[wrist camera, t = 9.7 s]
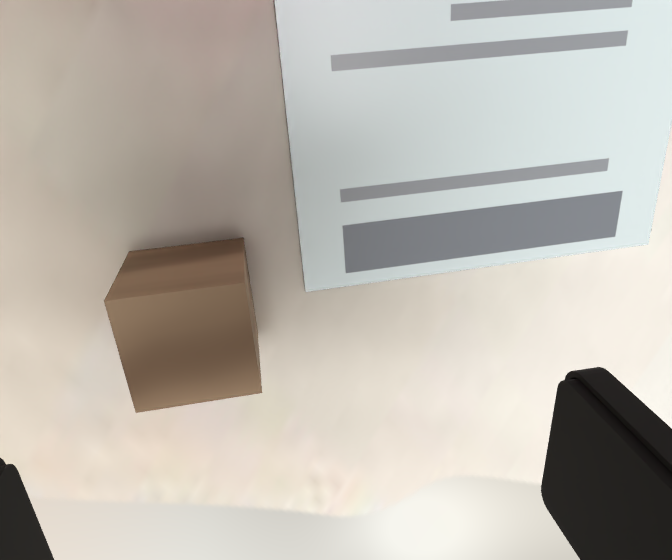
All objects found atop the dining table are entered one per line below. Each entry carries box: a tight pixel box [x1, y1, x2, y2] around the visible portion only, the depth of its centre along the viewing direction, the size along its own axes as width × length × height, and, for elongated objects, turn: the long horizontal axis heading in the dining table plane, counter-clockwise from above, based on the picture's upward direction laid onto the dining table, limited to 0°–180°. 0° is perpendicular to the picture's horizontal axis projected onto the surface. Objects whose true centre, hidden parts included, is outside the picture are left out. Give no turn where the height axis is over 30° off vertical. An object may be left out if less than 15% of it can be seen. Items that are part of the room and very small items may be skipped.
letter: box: [274, 0, 672, 292], centre depth 24 cm, size 13×18×1 cm
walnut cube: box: [104, 238, 262, 413], centre depth 22 cm, size 5×5×5 cm
